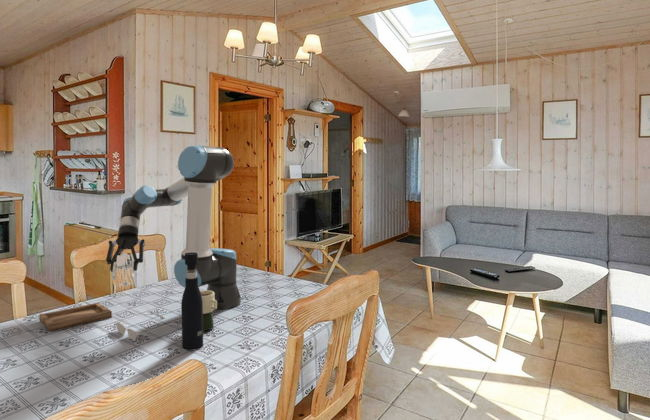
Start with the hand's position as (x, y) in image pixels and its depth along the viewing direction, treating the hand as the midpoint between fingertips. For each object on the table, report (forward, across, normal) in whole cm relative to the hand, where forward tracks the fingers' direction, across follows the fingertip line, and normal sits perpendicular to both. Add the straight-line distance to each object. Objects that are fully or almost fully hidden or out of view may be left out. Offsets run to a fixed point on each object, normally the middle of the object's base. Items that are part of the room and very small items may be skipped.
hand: (122, 277), depth 162 cm
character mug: (+27, -30, +6) cm, 41 cm away
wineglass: (0, 0, -5) cm, 5 cm away
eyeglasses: (+24, -12, +3) cm, 27 cm away
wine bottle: (+37, -27, +16) cm, 48 cm away
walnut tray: (+12, +16, -8) cm, 21 cm away
